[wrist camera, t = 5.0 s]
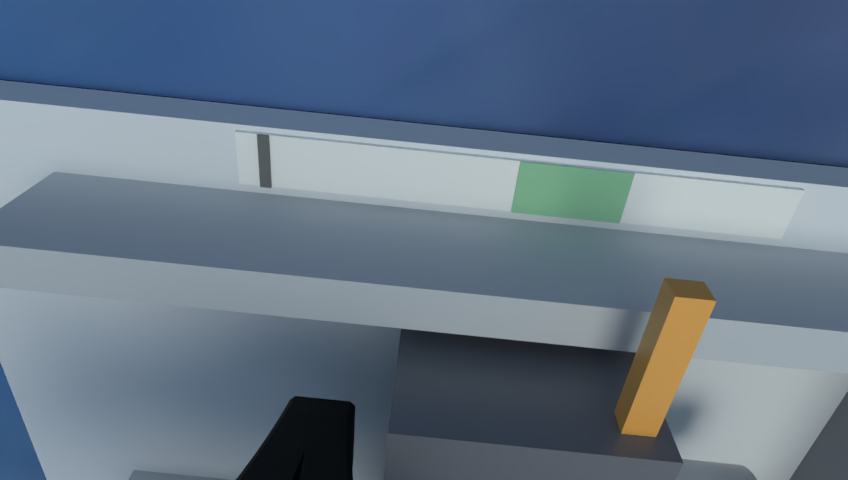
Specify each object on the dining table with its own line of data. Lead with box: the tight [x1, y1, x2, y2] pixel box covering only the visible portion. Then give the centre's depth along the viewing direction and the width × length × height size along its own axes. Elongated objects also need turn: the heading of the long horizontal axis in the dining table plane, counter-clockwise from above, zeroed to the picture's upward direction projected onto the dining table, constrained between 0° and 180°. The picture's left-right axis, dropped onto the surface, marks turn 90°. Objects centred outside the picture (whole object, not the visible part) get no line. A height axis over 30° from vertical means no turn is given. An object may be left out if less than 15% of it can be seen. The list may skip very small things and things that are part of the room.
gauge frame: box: [0, 80, 848, 480], centre depth 11 cm, size 12×22×6 cm, turn 85°
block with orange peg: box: [384, 278, 757, 480], centre depth 11 cm, size 9×7×4 cm
